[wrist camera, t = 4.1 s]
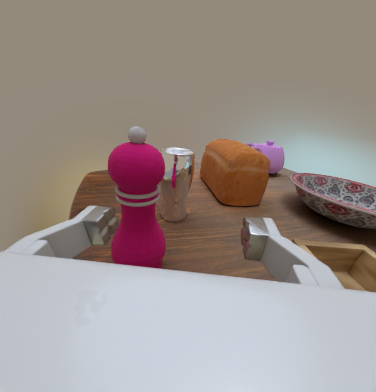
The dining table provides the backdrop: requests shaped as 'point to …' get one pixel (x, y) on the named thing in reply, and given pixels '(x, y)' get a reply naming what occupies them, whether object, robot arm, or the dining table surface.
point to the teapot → (271, 155)
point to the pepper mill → (137, 201)
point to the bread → (235, 172)
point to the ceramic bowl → (338, 198)
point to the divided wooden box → (345, 262)
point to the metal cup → (176, 182)
